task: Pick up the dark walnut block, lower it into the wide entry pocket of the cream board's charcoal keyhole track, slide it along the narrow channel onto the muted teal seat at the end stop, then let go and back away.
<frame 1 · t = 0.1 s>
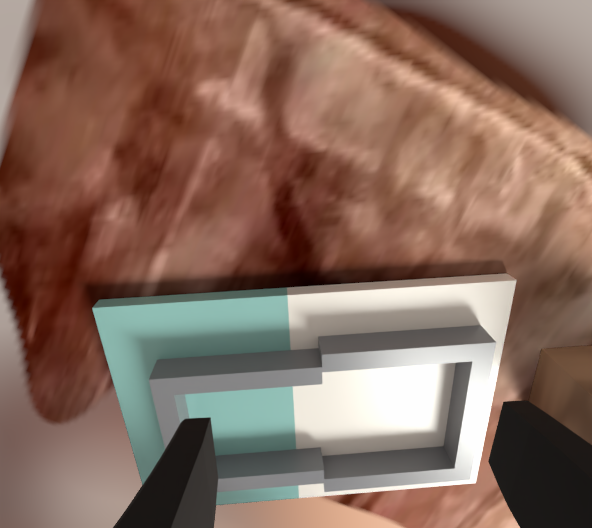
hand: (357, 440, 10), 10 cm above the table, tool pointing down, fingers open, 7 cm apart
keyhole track: (311, 398, 22), on the table
walnut block: (570, 377, 23), on the table
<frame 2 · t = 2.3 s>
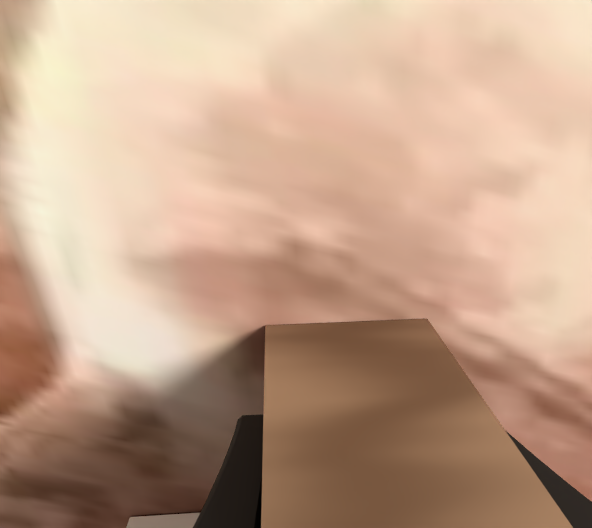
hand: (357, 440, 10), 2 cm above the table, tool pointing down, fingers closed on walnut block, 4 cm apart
walnut block: (344, 386, 11), on the table, touching gripper
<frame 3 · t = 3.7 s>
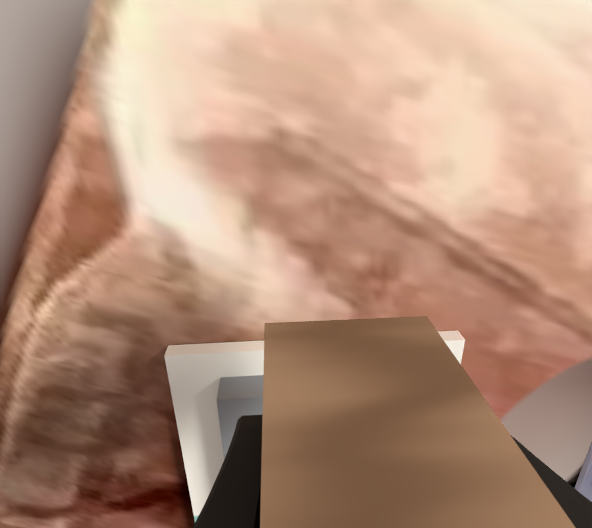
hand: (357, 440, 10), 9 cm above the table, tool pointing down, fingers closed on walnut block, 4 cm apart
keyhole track: (315, 482, 23), on the table
walnut block: (343, 384, 11), point 7 cm above the table, touching gripper
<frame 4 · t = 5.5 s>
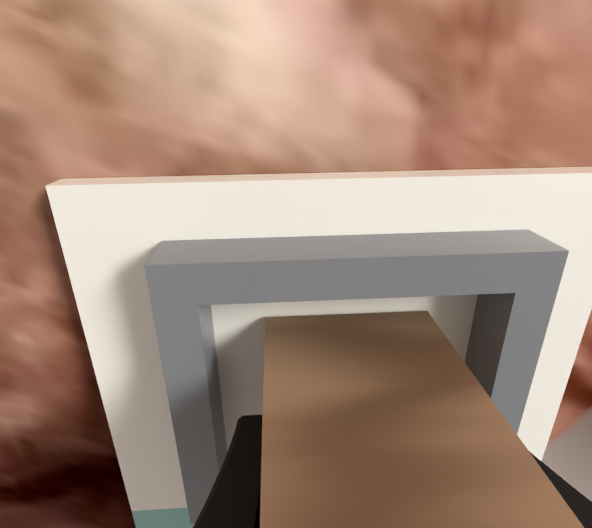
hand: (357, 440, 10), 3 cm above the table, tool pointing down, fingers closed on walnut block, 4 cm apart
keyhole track: (335, 457, 14), on the table
walnut block: (343, 379, 11), point 1 cm above the table, touching gripper
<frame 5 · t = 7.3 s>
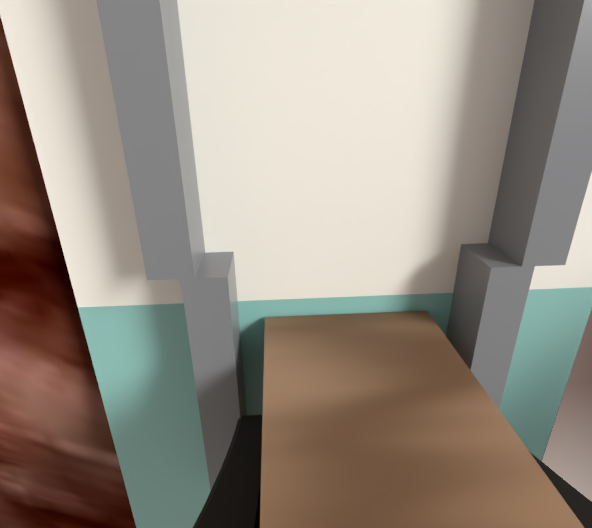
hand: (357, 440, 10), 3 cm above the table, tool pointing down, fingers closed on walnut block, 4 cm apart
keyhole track: (343, 251, 11), on the table
walnut block: (343, 379, 11), point 1 cm above the table, touching gripper
when the fingers open (3 cm above the table, at t = 8.7 s): walnut block stays where it is, resting on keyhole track.
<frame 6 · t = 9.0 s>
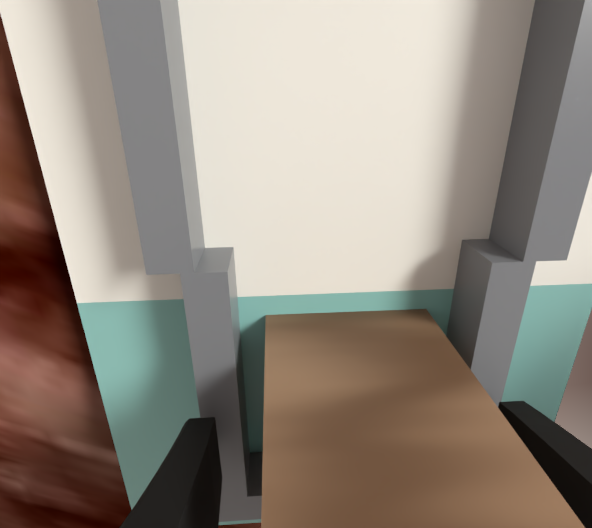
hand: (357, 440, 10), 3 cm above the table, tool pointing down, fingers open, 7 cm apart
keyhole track: (343, 246, 11), on the table
walnut block: (343, 376, 12), point 1 cm above the table, touching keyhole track
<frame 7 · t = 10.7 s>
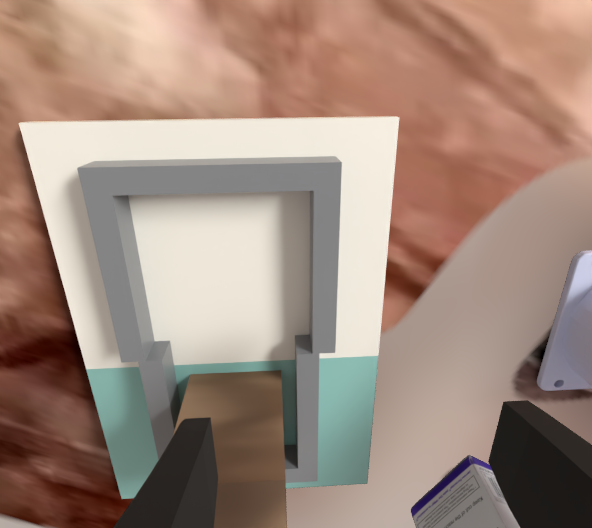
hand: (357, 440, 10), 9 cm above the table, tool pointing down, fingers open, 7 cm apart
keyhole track: (234, 335, 19), on the table
supplement box: (468, 494, 25), on the table
walnut block: (239, 407, 20), point 1 cm above the table, touching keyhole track
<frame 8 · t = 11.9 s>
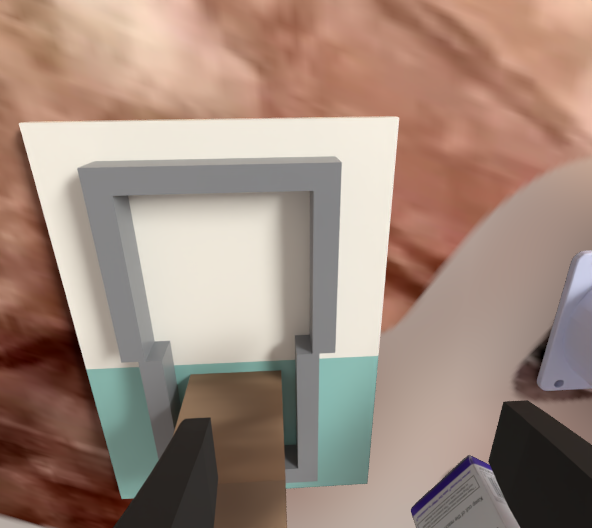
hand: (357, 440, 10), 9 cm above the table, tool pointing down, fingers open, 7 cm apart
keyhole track: (234, 335, 19), on the table
supplement box: (468, 494, 25), on the table
walnut block: (239, 407, 20), point 1 cm above the table, touching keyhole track
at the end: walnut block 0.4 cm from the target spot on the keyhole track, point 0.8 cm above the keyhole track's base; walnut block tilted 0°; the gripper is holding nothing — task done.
